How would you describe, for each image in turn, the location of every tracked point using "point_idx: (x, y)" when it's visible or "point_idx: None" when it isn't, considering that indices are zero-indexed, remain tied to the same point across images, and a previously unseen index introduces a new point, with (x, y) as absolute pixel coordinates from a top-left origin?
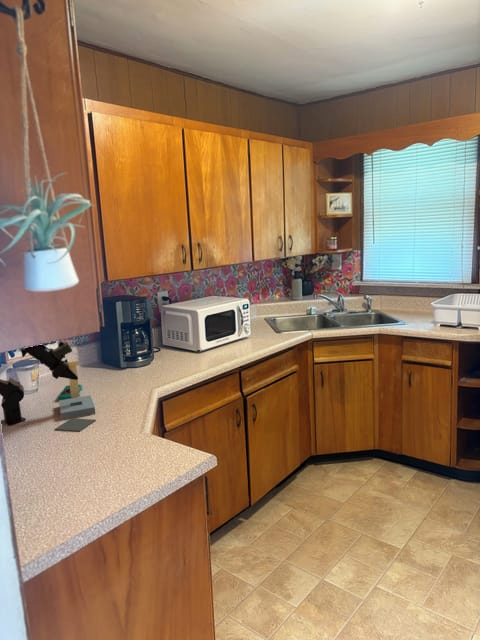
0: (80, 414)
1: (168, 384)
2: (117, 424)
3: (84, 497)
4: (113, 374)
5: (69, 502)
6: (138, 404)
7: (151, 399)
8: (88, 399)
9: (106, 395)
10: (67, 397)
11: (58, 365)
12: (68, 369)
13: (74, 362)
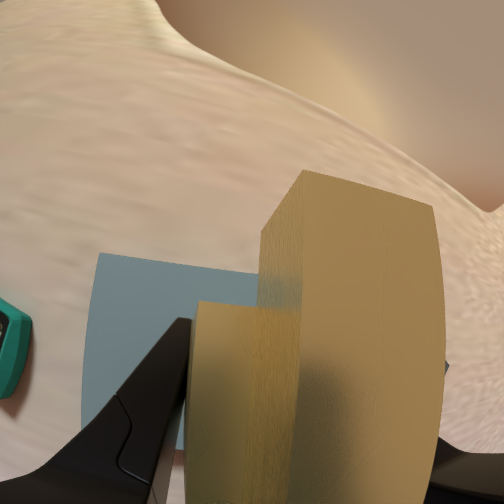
0: None
1: (158, 23)
2: (439, 248)
3: None
4: None
5: None
6: (298, 125)
7: (269, 83)
8: (172, 281)
9: (83, 178)
10: (18, 359)
11: None
12: (456, 457)
13: (436, 340)
